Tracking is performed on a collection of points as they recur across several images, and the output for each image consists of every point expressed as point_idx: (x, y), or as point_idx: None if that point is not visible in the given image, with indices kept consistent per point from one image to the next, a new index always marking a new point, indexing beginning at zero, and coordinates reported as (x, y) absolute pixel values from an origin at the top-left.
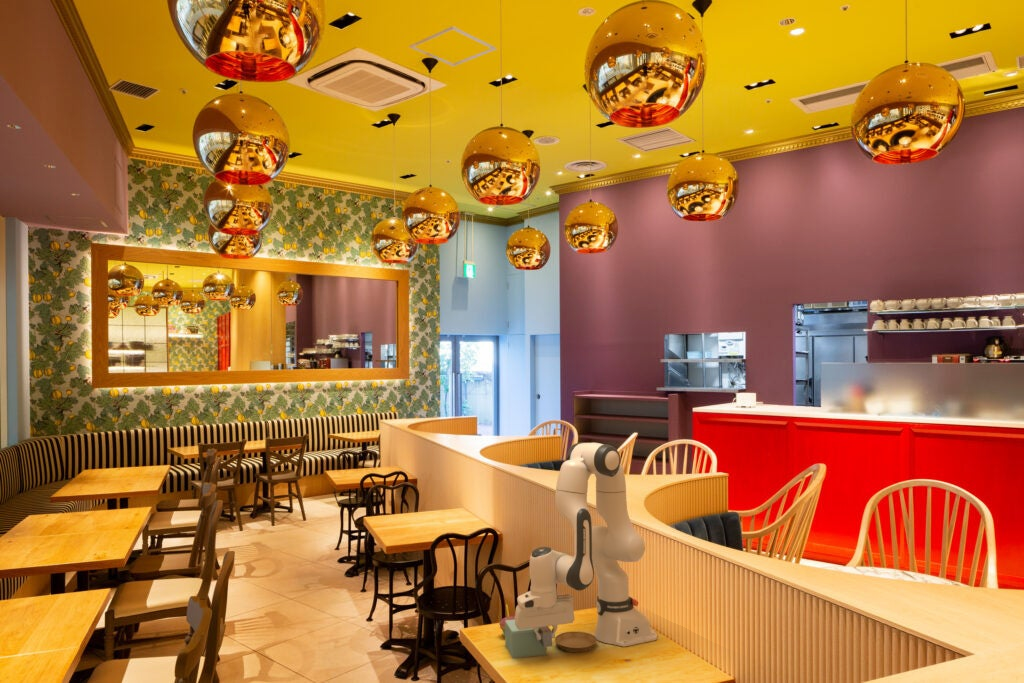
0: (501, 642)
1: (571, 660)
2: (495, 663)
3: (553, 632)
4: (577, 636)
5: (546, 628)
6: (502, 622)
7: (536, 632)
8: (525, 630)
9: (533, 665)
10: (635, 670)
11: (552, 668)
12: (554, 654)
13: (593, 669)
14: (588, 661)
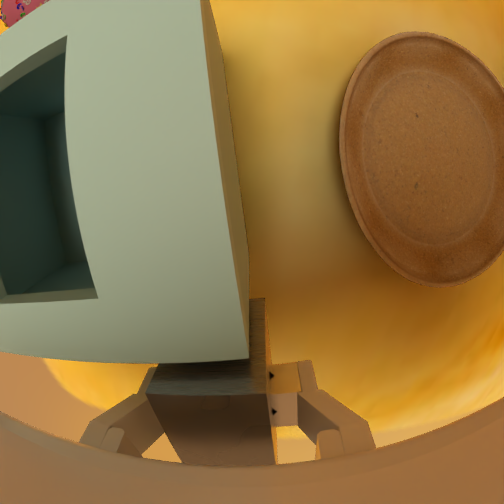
0: None
1: (364, 338)
2: None
3: (306, 432)
4: (461, 72)
5: (237, 447)
6: (1, 2)
7: (136, 447)
8: (34, 356)
9: None
10: (486, 391)
11: None
12: (298, 256)
13: (403, 404)
14: (423, 347)
